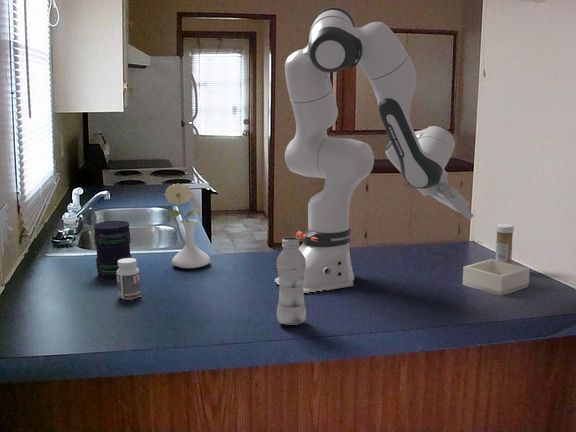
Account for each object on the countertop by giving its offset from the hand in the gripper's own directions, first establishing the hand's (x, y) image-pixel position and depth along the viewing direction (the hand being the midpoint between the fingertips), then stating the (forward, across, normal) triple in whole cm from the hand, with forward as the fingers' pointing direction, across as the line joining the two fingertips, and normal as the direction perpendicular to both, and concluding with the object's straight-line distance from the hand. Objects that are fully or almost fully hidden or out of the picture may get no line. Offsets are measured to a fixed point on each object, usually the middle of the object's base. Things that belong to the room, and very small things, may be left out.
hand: (464, 213), depth 186 cm
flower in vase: (-43, +18, +67) cm, 81 cm away
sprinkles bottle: (+21, 0, +4) cm, 21 cm away
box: (+15, -12, +9) cm, 22 cm away
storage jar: (-57, +12, +82) cm, 100 cm away
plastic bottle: (-25, -33, +49) cm, 64 cm away
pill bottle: (-52, -9, +77) cm, 93 cm away
